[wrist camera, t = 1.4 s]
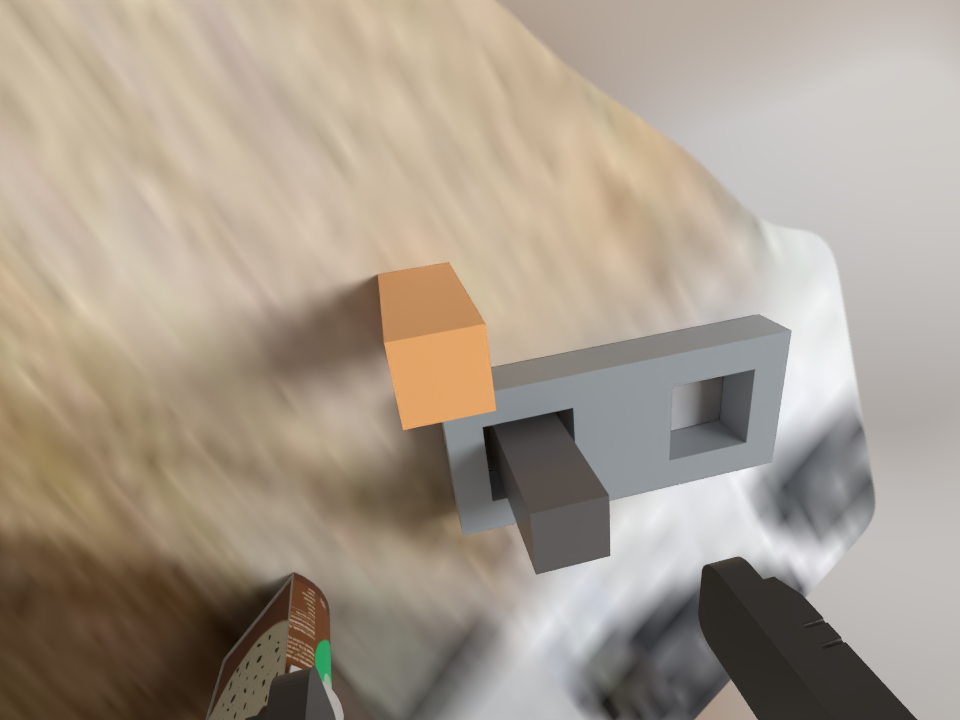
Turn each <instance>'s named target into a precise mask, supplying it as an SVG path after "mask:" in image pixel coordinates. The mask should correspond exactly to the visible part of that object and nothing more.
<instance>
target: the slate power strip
mask: <svg viewBox="0 0 960 720" xmlns="http://www.w3.org/2000/svg"><path fill="white" fill-rule="evenodd" d="M790 337H791V330H789V329H787V328H785V327H783V326H781V325H779V324H777V323H775V322H773V321H771V320H769V319H767V318H765V317H763V316H761V315H754V316H749V317H744V318H739V319H733V320H728V321H723V322H718V323H713V324H708V325H703V326H698V327H693V328H688V329H683V330H678V331H673V332H668V333H663V334H658V335H653V336H648V337H643V338H638V339H633V340H628V341H623V342H618V343H613V344H608V345H602V346H597V347H592V348H587V349H582V350H577V351H572V352H567V353H562V354H557V355H552V356H547V357H542V358H537V359H532V360H527V361H522V362H517V363H512V364H507V365H502V366H497V367H492V368H491V372H492V380H493V388H494V396H495V404H496V411H492V412H488V413H483V414H478V415H473V416H469V417H464V418H459V419H454V420H450V421H445V422H441V424H442V429H443V435H444V441H445V446H446V452H447V457H448V463H449V469H450V474H451V480H452V485H453V491H454V497H455V502H456V507H457V511H458V516H459V520H460V524H461V528H462V532H463V536H464V535H469V534H473V533H477V532H481V531H485V530H490V529H494V528H498V527H502V526H506V525H511V524H515V523H517V525H518V528H519V530H520V533H521V536H522V538H523V541H524V544H525V546H526V549H527V552H528V554H529V557H530V560H531V562H532V565H533V567H534V570H535V573H536V574H540V573H544V572H548V571H552V570H556V569H560V568H564V567H568V566H572V565H576V564H580V563H584V562H588V561H592V560H596V559H600V558H604V557H608V556H610V513H609V501H611V500H616V499H620V498H624V497H628V496H632V495H637V494H641V493H645V492H649V491H653V490H657V489H662V488H666V487H670V486H674V485H678V484H683V483H687V482H691V481H695V480H699V479H704V478H708V477H712V476H716V475H720V474H725V473H729V472H733V471H737V470H741V469H746V468H750V467H754V466H758V465H762V464H767V463H771V462H772V459H773V452H774V445H775V439H776V432H777V425H778V418H779V412H780V405H781V398H782V391H783V385H784V378H785V371H786V364H787V358H788V351H789V344H790ZM721 376H724V379H723V389H722V400H721V411H720V420H718V421H714V422H709V423H705V424H700V425H696V426H691V427H687V428H682V429H678V430H674V431H671V408H672V387H674V386H678V385H683V384H688V383H692V382H697V381H702V380H707V379H711V378H716V377H721ZM556 411H559V418H558V416H557V414H556V413H555V412H556ZM486 426H489V432H490V440H491V447H492V455H493V462H494V464H495V467H496V470H495V471H491V472H489V471H488V464H487V457H486V450H485V442H484V435H483V428H482V427H486Z"/></svg>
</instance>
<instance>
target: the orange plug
mask: <svg viewBox="0 0 960 720" xmlns="http://www.w3.org/2000/svg"><path fill="white" fill-rule="evenodd" d="M378 282H379V293H380V304H381V315H382V326H383V337H384V345H385V350H386V354H387V359H388V363H389V368H390V373H391V377H392V382H393V386H394V391H395V396H396V400H397V405H398V409H399V414H400V419H401V423H402V428H403V430H407V429H411V428H416V427H421V426H426V425H430V424H435V423H440V422H445V421H450V420H454V419H459V418H464V417H469V416H473V415H478V414H483V413H488V412H492V411H496V404H495V396H494V388H493V380H492V372H491V364H490V356H489V348H488V340H487V332H486V324H485V322H484V320H483V319H482V317H481V315H480V314H479V312H478V310H477V309H476V307H475V305H474V304H473V302H472V300H471V299H470V297H469V295H468V294H467V292H466V290H465V288H464V287H463V285H462V283H461V282H460V280H459V278H458V277H457V275H456V273H455V272H454V270H453V268H452V267H451V265H450V263H449V262H448V263H442V264H436V265H430V266H424V267H418V268H413V269H407V270H401V271H395V272H389V273H383V274H378Z"/></svg>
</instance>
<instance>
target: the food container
mask: <svg viewBox="0 0 960 720" xmlns="http://www.w3.org/2000/svg"><path fill="white" fill-rule="evenodd" d="M313 666H315V667H316V668H317V670H318V673H319V675H320V678H321V680H322V683H323V685H324V688H325V690H326V693H327V695H328V698H329V700H330V703H331V705H332V708H333V711H334V714H335V718H336V720H343V711H342V706H341V704H340V702H339V700H338V698H337V696H336V694H335V693H334V692H333V691H332V686H331V652H330V617H329V606H328V602H327V600H326V598H325V596H324V594H323V593H322V592H321V590H320V589H319V588H318V587H317V586H316V585H315V584H314V583H312V582H311V581H309V580H308V579H306V578H305V577H303V576H301V575H299V574H296V573H293V574H292V575H291V576H290V577H289V579H288V580H287V581H286V582H285V584H284V585H283V586H282V587H281V589H280V590H279V591H278V592H277V594H276V595H275V596H274V597H273V598H272V600H271V601H270V602H269V603H268V605H267V606H266V607H265V608H264V610H263V611H262V612H261V613H260V615H259V616H258V617H257V618H256V619H255V621H254V622H253V623H252V624H251V626H250V627H249V628H248V629H247V631H246V632H245V633H244V634H243V636H242V637H241V638H240V639H239V640H238V642H237V643H236V644H235V645H234V647H233V648H232V649H231V650H230V652H229V653H228V654H227V655H226V657H225V658H224V659H223V662H222V666H221V669H220V673H219V676H218V679H217V683H216V686H215V689H214V693H213V696H212V700H211V703H210V706H209V710H208V713H207V716H206V720H245V719H246V718H248V717H252V716H255V715H259V714H263V713H266V708H267V702H268V696H269V690H270V685H271V682H272V680H273V678H274V677H275V676H279V675H283V674H286V673H290V672H294V671H298V670H302V669H306V668H309V667H313Z"/></svg>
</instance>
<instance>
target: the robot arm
mask: <svg viewBox="0 0 960 720" xmlns="http://www.w3.org/2000/svg"><path fill="white" fill-rule="evenodd" d="M698 616H699V622H700V626H701V629H702V632H703V634H704V637H705V639H706V641H707V643H708V644H709V646H710V648H711V649H712V651H713V652H714V654H715V655H716V657H717V658H718V660H719V661H720V663H721V664H722V666H723V667H724V669H725V670H726V672H727V673H728V675H729V676H730V678H731V679H732V681H733V682H734V684H735V685H736V687H737V688H738V690H739V691H740V693H741V695H742V696H743V697H744V699H745V701H746V702H747V704H748V705H749V707H750V708H751V710H752V711H753V713H754V714H755V716H756V717H757V719H758V720H917V719H916V718H915V717H914V716H913V715H912V714H911V713H910V712H909V710H908V709H907V708H906V707H905V706H904V705H903V704H902V703H901V702H900V701H899V700H898V699H897V698H896V696H895V695H894V694H893V693H892V692H891V691H890V690H889V689H888V688H887V687H886V685H885V684H884V683H882V681H881V680H880V679H879V678H878V677H877V676H876V675H875V674H874V672H873V671H872V670H871V669H870V668H869V667H868V666H867V665H866V664H865V663H864V662H863V661H862V659H861V658H860V657H859V656H858V655H857V654H856V653H855V652H854V651H853V650H852V649H851V647H850V646H849V645H848V644H847V643H846V642H845V643H844V642H843V641H842V639H841V637H840V636H839V634H838V633H837V632H836V631H835V630H834V629H833V628H832V627H831V626H830V625H829V624H828V623H825V622H824V620H823V617H822V616H821V615H820V614H819V613H818V612H817V611H816V609H815V608H814V607H813V606H812V605H811V604H810V603H809V602H808V601H807V600H806V599H805V598H804V596H803V595H802V594H800V593H799V592H797V591H796V590H794V589H792V588H791V587H789V586H788V585H786V584H785V583H783V582H781V581H780V580H778V579H777V578H775V577H771V578H767V579H764V580H763V579H762V578H761V576H760V575H759V574H758V573H757V572H756V571H755V570H754V568H753V567H752V566H751V565H750V564H749V563H748V562H747V561H746V560H745V559H743V558H742V557H734V558H730V559H726V560H722V561H719V562H715V563H711V564H707V565H705V566H704V567H703V569H702V577H701V588H700V599H699V610H698ZM245 720H336V718H335V714H334V711H333V708H332V705H331V703H330V700H329V698H328V695H327V693H326V690H325V688H324V685H323V683H322V680H321V678H320V675H319V673H318V670H317V668H316V667H315V666H313V667H309V668H306V669H302V670H298V671H294V672H290V673H286V674H283V675H279V676H275V677H274V678H273V680H272V682H271V685H270V690H269V696H268V702H267V708H266V713H263V714H259V715H255V716H252V717H248V718H246V719H245Z"/></svg>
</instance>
